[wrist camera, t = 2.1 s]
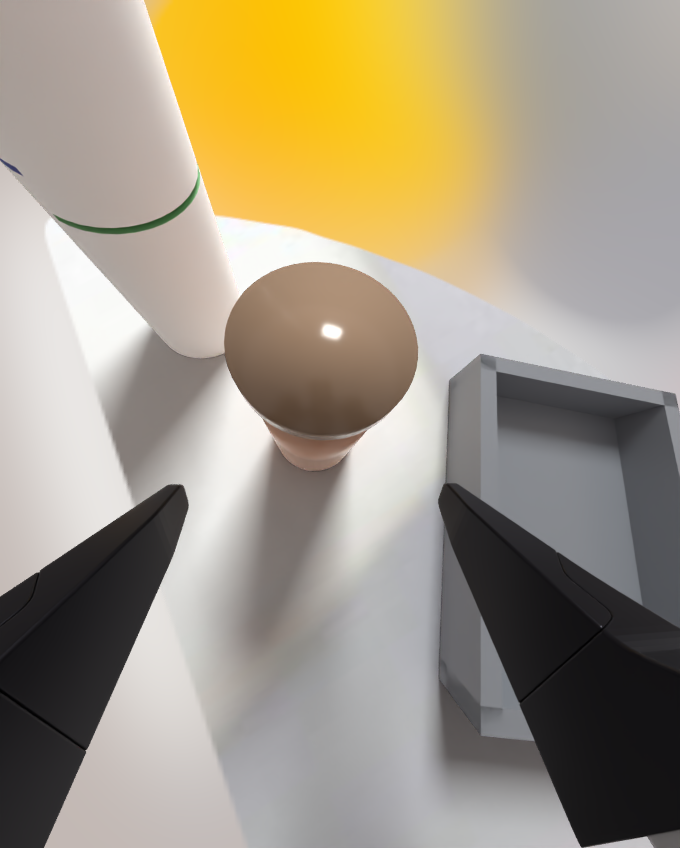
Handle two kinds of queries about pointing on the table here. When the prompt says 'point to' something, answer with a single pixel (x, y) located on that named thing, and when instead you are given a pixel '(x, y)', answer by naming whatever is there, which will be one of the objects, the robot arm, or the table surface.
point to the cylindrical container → (115, 160)
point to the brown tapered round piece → (320, 357)
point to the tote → (558, 502)
